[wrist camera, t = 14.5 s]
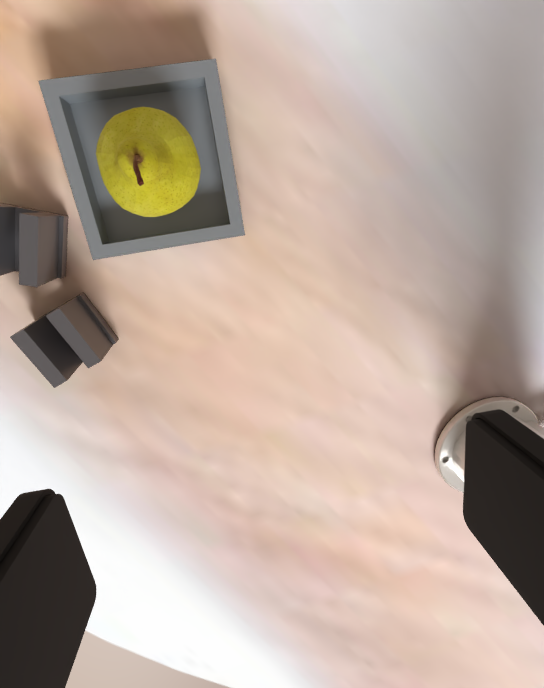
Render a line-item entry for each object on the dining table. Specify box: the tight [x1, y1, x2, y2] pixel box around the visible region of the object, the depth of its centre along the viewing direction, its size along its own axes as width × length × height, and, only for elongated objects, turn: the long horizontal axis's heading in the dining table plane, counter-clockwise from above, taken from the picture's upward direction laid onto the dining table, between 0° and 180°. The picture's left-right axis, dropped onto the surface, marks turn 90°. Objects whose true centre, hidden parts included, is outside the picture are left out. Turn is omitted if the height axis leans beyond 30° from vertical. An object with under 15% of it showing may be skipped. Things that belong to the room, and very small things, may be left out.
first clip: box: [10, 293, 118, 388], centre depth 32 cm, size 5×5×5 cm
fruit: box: [96, 107, 201, 217], centre depth 25 cm, size 7×7×12 cm
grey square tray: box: [39, 59, 245, 260], centre depth 30 cm, size 12×12×3 cm
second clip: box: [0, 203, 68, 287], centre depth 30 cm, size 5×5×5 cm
